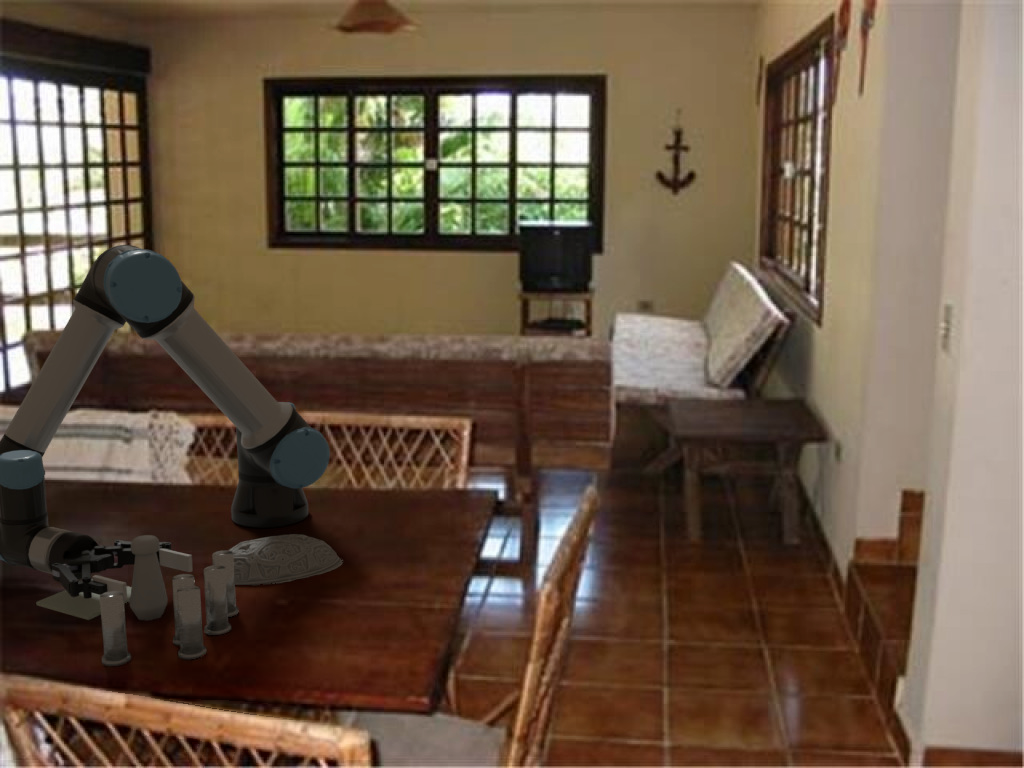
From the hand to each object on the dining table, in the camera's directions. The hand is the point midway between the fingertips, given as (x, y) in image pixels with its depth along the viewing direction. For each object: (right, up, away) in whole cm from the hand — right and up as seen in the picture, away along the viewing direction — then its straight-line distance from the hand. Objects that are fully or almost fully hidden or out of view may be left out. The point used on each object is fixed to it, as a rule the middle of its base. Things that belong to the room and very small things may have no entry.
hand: (158, 577), depth 179 cm
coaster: (-14, -5, +9) cm, 17 cm away
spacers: (+4, -8, -5) cm, 11 cm away
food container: (+13, -3, +24) cm, 27 cm away
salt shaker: (-2, -7, +3) cm, 8 cm away
